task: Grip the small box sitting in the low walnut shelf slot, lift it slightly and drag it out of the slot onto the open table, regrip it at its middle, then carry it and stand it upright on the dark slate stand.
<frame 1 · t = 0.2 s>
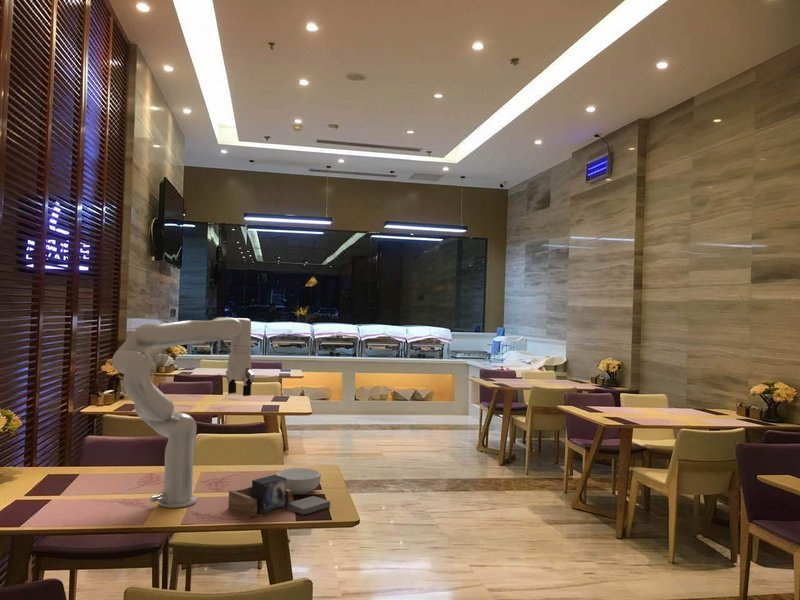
hand: (239, 394, 234), 36 cm above the table, tool pointing down, fingers open, 9 cm apart
cereal bowl: (298, 492, 232), on the table
walnut shelf slot: (261, 508, 211), on the table
slate stand: (308, 507, 213), on the table
small box: (268, 510, 208), resting on walnut shelf slot
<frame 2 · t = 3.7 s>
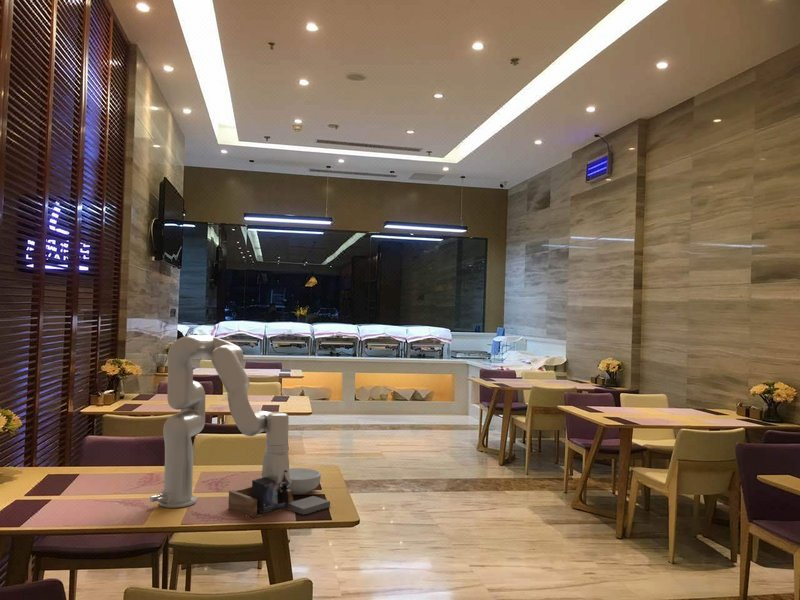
hand: (275, 500, 211), 3 cm above the table, tool pointing down, fingers closed on small box, 6 cm apart
small box: (268, 510, 208), resting on walnut shelf slot, touching gripper
everything else where it was.
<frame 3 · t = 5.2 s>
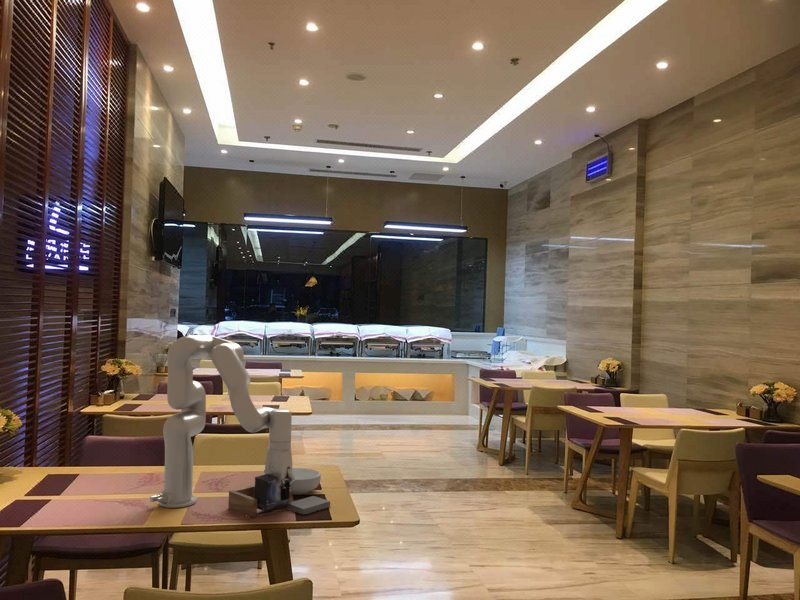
hand: (278, 496, 209), 5 cm above the table, tool pointing down, fingers closed on small box, 6 cm apart
small box: (271, 506, 207), point 2 cm above the table, touching gripper
everything else where it was.
when the fingers open (4 cm above the table, at t = 6.8 s): small box drops 2 cm, on the table.
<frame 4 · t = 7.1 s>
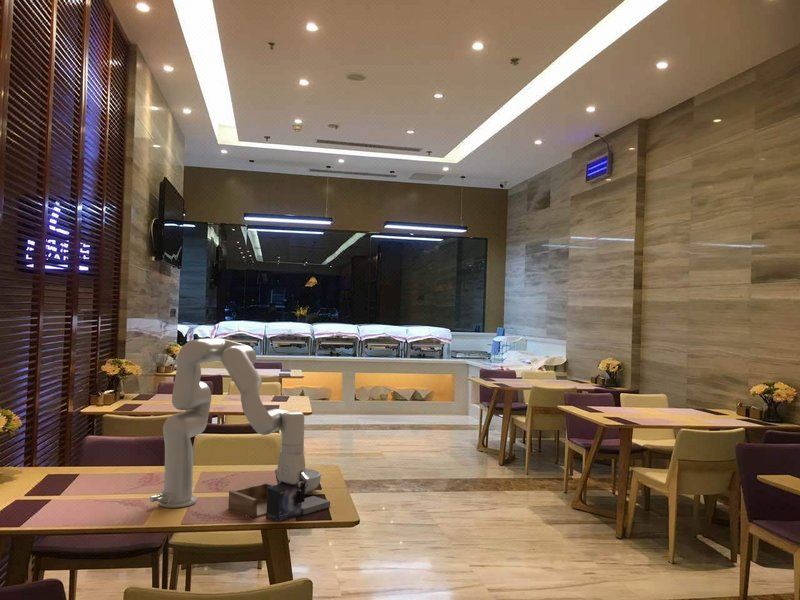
hand: (291, 499, 205), 5 cm above the table, tool pointing down, fingers open, 9 cm apart
small box: (283, 517, 203), on the table
everything else where it was.
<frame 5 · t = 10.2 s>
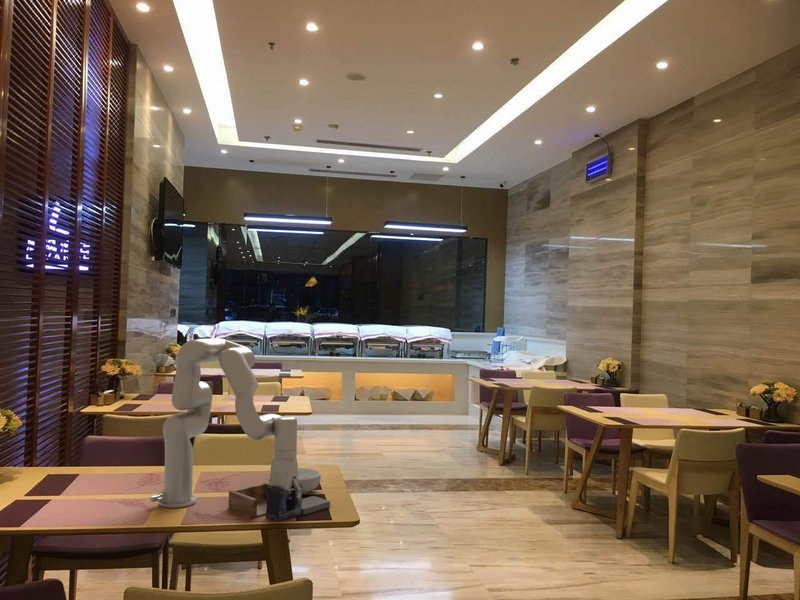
hand: (284, 507, 203), 3 cm above the table, tool pointing down, fingers closed on small box, 6 cm apart
small box: (283, 517, 203), on the table, touching gripper
everything else where it was.
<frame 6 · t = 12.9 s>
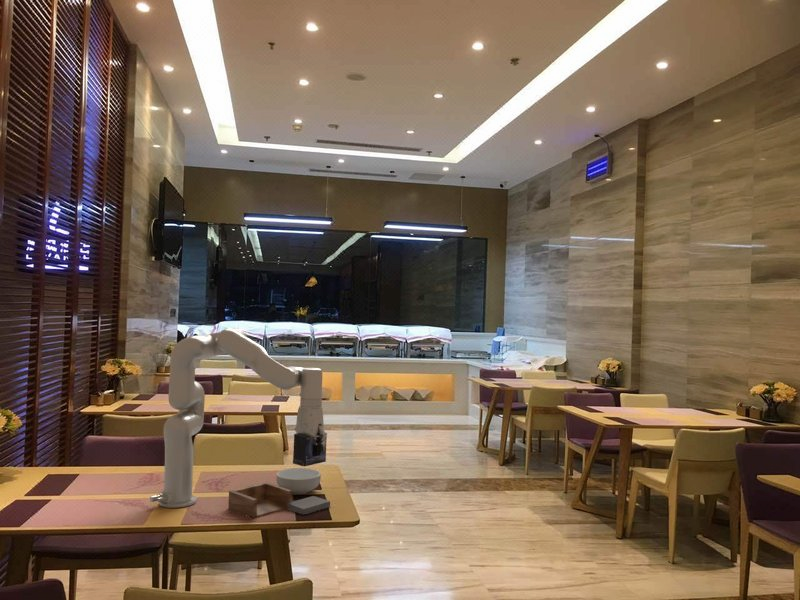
hand: (309, 453, 213), 19 cm above the table, tool pointing down, fingers closed on small box, 6 cm apart
small box: (309, 463, 213), point 15 cm above the table, touching gripper
everything else where it was.
when the fingers open (6 cm above the table, at t = 15.6 s): small box stays where it is, resting on slate stand.
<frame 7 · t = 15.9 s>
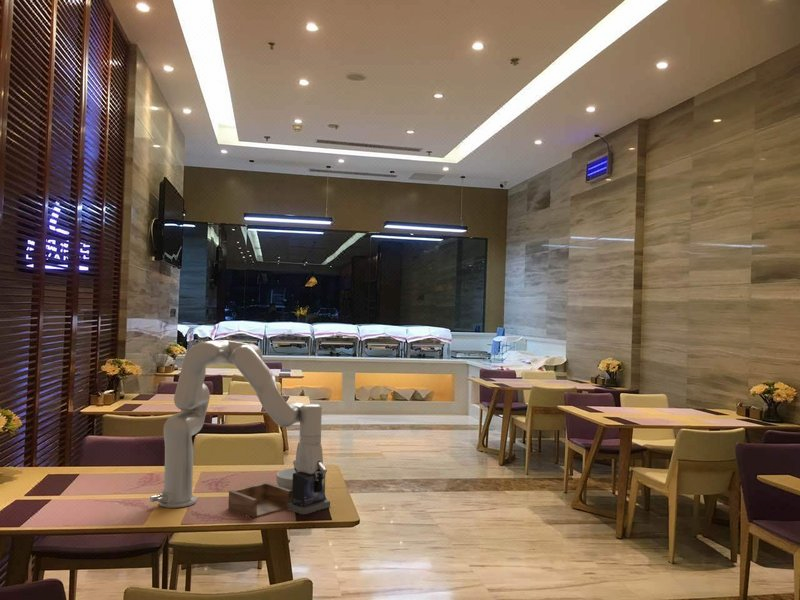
hand: (309, 488, 213), 7 cm above the table, tool pointing down, fingers open, 8 cm apart
small box: (308, 502, 213), point 2 cm above the table, touching slate stand
everything else where it was.
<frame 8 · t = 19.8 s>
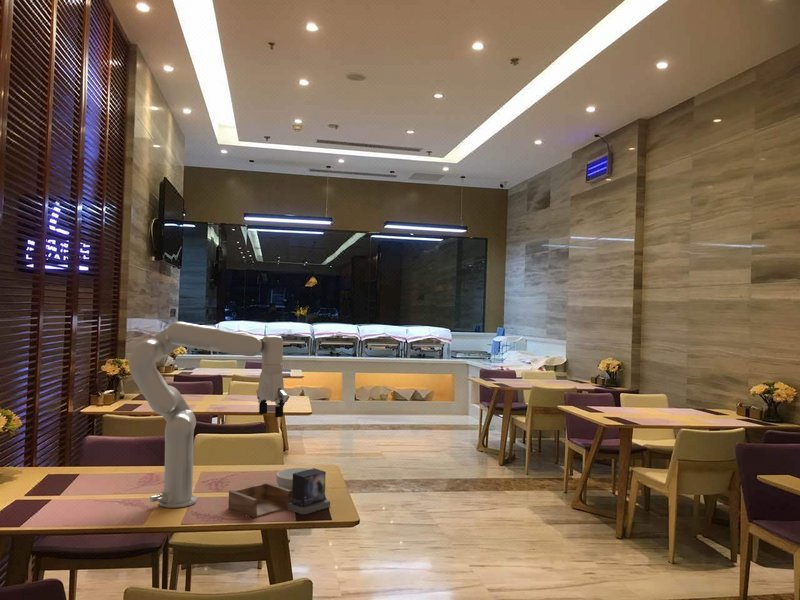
hand: (270, 415, 224), 30 cm above the table, tool pointing down, fingers open, 9 cm apart
nothing on the table moved.
at the end: small box 0.1 cm from the slate stand (horizontally); small box tilted 0°; small box touching slate stand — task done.
